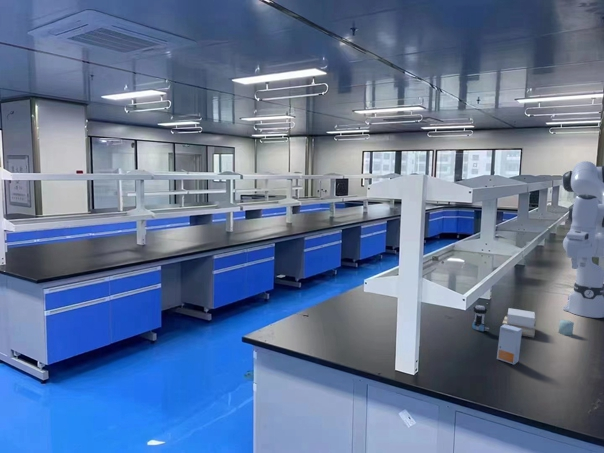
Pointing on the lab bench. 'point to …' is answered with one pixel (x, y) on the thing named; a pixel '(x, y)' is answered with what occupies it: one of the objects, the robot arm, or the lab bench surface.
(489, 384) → the lab bench surface
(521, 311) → the white top block
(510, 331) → the skincare box
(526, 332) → the maple base block
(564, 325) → the pale blue egg shape
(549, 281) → the lab bench surface
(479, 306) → the push button
